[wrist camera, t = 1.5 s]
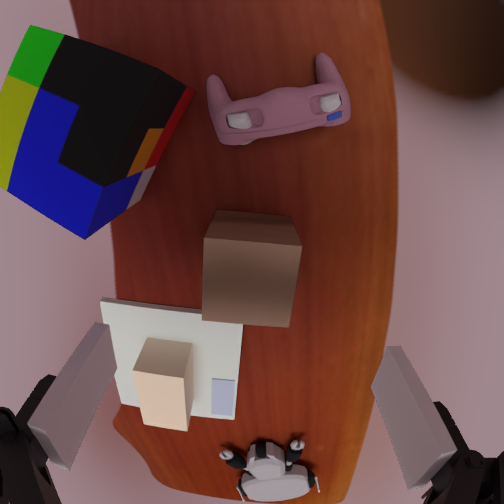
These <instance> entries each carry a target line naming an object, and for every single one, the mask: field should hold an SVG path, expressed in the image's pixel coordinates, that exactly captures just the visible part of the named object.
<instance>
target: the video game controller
mask: <svg viewBox="0 0 504 504" xmlns="http://www.w3.org/2000/svg"><path fill="white" fill-rule="evenodd" d="M315 64H316V65H315V68H316V76H317V81H318V84H315V85H310V86H305V87H301V88H300V87H281V88H275V89H273V90H270V91H268V92H266V93H264V94H262V95H260V96H256V97H251V98H245V99H241V100H237V101H232V100H231V99H230V97H229V96H228V94H227V91H226V89H225V87H224V84H223V82H222V81H221V79H220V78H219V77H218V76H216V75H210V76H209V77H208V79H207V82H206V91H207V101H208V109H209V114H210V117H211V120H212V123H213V126H214V128H215V131H216V134H217V136H218V139H219V141H220V142H221V143H222V144H226V145H246V144H248V143H250V142H251V141H254V140H256V139H258V138H264V137H272V136H277V135H283V134H288V133H293V132H297V131H302V130H306V129H310V128H314V127H317V126H326V127H328V126H336V125H340V124H343V123H345V122H347V121H348V120H349V119H350V117H351V112H350V98H349V95H348V92H347V89H346V87H345V85H344V82H343V80H342V78H341V76H340V74H339V72H338V70H337V68H336V66H335V65H334V63H333V61H332V60H331V58H330V57H329V56H328V55H326V54H325V53H318V54H317V55H316V58H315Z"/></svg>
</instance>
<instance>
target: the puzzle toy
mask: <svg viewBox="0 0 504 504" xmlns="http://www.w3.org/2000/svg"><path fill="white" fill-rule="evenodd" d="M194 94H195V91H193V90H192V89H190V88H189V87H187V86H186V85H184V84H182V83H181V82H179V81H178V80H176V79H174V78H173V77H171V76H170V75H168V74H166V73H165V72H163V71H162V70H160V69H157V68H155V67H153V66H150V65H148V64H146V63H143V62H141V61H138V60H136V59H133V58H131V57H128V56H125V55H123V54H120V53H118V52H115V51H112V50H109V49H107V48H104V47H101V46H98V45H95V44H92V43H89V42H86V41H83V40H80V39H77V38H74V37H71V36H68V35H64V34H61V33H58V32H54V31H51V30H47V29H43V28H40V27H36V26H32V25H30V26H29V28H28V30H27V32H26V34H25V36H24V38H23V40H22V42H21V45H20V46H19V49H18V51H17V53H16V55H15V57H14V60H13V62H12V64H11V67H10V69H9V71H8V74H7V77H6V79H5V82H4V84H3V87H2V90H1V92H0V187H2V188H3V189H5V190H6V191H8V192H9V193H11V194H12V195H14V196H15V197H17V198H18V199H20V200H21V201H23V202H24V203H26V204H28V205H29V206H31V207H32V208H34V209H35V210H37V211H38V212H40V213H42V214H43V215H45V216H46V217H48V218H50V219H51V220H53V221H54V222H56V223H58V224H59V225H61V226H63V227H64V228H66V229H68V230H69V231H71V232H73V233H74V234H76V235H78V236H79V237H81V238H83V239H84V240H85V239H86V238H88V237H89V236H91V235H92V234H93V233H95V232H96V231H98V230H99V229H100V228H102V227H103V226H104V225H106V224H107V223H109V222H110V221H111V220H113V219H114V218H116V217H117V216H118V215H120V214H121V213H123V212H124V211H125V210H127V209H128V208H130V207H131V206H133V205H134V204H136V203H137V202H139V201H140V200H141V198H142V195H143V193H144V191H145V189H146V187H147V184H148V182H149V180H150V178H151V176H152V174H153V172H154V170H155V168H156V165H157V163H158V161H159V159H160V157H161V155H162V153H163V151H164V149H165V147H166V145H167V143H168V141H169V139H170V138H171V136H172V134H173V132H174V130H175V128H176V126H177V124H178V122H179V121H180V119H181V117H182V115H183V113H184V111H185V110H186V108H187V106H188V104H189V102H190V101H191V99H192V97H193V95H194Z"/></svg>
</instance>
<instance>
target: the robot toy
mask: <svg viewBox="0 0 504 504" xmlns="http://www.w3.org/2000/svg"><path fill="white" fill-rule="evenodd" d="M304 444H305V443H304V441H301V440H300V442H299V443H298V440H294V441H293V442H292V443H291V444H289V447H288V449H287V451H286V454H285V456H286V459H287V460H285V457H284V450H282V449H281V448H280V447H278V446H276V445H274V444H273V443H270V442H266V445H265V444H263V443H259V444H257V445H256V447H255V444H253V445H251V446H250V451H249V452H248V454H247V463H246V461H245V458H244V457H243V456H241V455H240V454H238V453H237V452H232V451H230V450H224V451H221V452H220V454H219V455H220V457H221V458H222V459H226V464H228V465H230V466H231V467H233V468H235V469H245V470H246V473H244V474H243V476H242V478H241V479H239V482H238V485H237V487H236V488H237V490H238V491H239V493H240V495H241V497H242V501H243V502H245V499H244V498H243V495H244V496H248V498H249V499H252V500H256V501H282V500H287V499H292V498H296V497H299V496H302V495H304V494H306V493H307V492H309V490H310V488H312V487H313V486H314V484H315V482H316V483H317V488H318V492H320V489H319V486H318V481H317V475H314V473H313V472H312V471H311V470H310V469H306V468H305V466H301V465H297V464H293V463H292V462H295V461H298V460H299V458H300V456H301V454H302V450H303V449H302V448H303V447H304ZM315 480H316V481H315ZM242 494H243V495H242Z"/></svg>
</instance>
